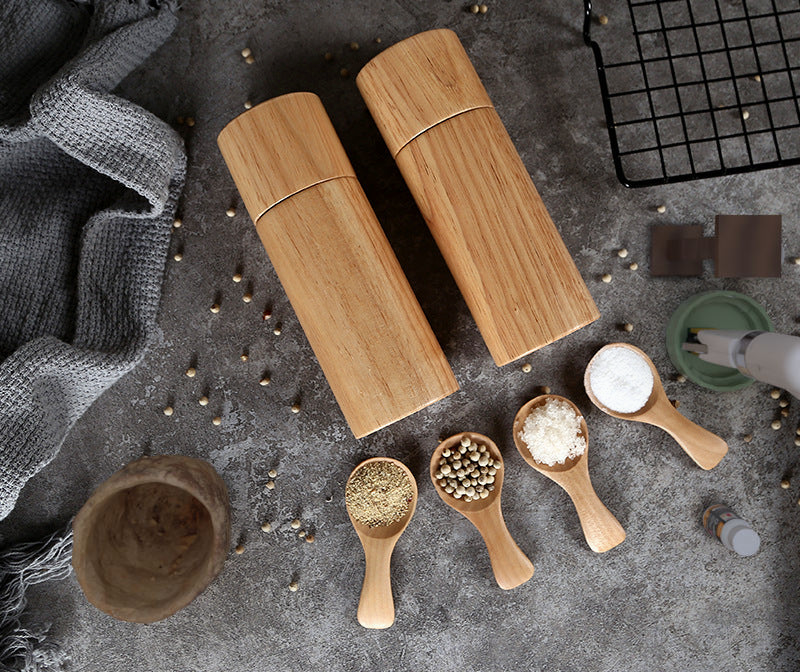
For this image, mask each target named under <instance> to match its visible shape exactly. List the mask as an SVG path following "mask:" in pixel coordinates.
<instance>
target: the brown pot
mask: <svg viewBox="0 0 800 672" xmlns="http://www.w3.org/2000/svg"><path fill="white" fill-rule="evenodd" d="M71 521H72V522H71V528H72V544H73V545H72V551H71V567H72V569H73V570H74V573H75V575H76V579H77V581H78V584H79V586H80V588H81V590H82V592H83V594H84V596H85V598H86V599H87V601H88V603H89V604H90V605H91V606H93V607H94V608H96V609H97V610H99V611H100V612H102V613H105V614H106V615H108V616H110V617H111V618H113V619H115V620H118V621H123V622H127V623H134V624H141V625H142V624H143V625H144V624H152V623H156V622H161V621H164V620H166V619H168V618H171V617H172V616H173V615H175V614H176V613H178V612H180V611H181V610H182V609H184V608H186V607H188V606H189V605H191V604H192V603H193V602H194V601H195V600H196V599H197V598H198V597H200V596H202V594H203V593H204V592H205V591H206V589H207V588H208V587H209V586H210V585H211V584H212V583H214V582H215V581H216V580H217V579H218V578H219V577H220V575H221V573H222V572H223V571H224V569H225V563H226V561H227V559H228V555H229V552H230V549H231V548H230V547H231V542H232V508H231V504H230V494H229V490H228V486H227V485H226V483H225V482H224V480H223V478H222V477H221V475H220V474H219V473H218V471H217V470H216V469H215V467H214V466H213V465H211V463H209V462H208V461H206V460H203V459H200V458H197V457H192V456H188V455H183V454H173V453H172V454H163V453H162V454H158V455H157V454H156V455H150V456H145V457H140V458H136V459H132V460H130V461H129V462H127V463H126V464H125V465H124V466H122V467H121V468H119V469H118V470H117V471H116V472H114V473H113V474H112V475H110V477H108V478H107V479H106V480H104V481H103V482H102V483H100V484H99V485H98V486H97V487H96V488H95V489H94V490H93V492H92V493H91V495H90V496H89V498H88V499H87V500H86V502H85V503H84V504H83V506H81V508H80V509H79V511H78V512H77V513H76V514H75V516H74V517H73V518H72V520H71Z"/></svg>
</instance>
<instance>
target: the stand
mask: <svg viewBox="0 0 800 672" xmlns="http://www.w3.org/2000/svg"><path fill="white" fill-rule="evenodd" d="M782 231H783V215H782V214H715V215H714V235H709V236H704V226H703V225H696V224H695V225H694V224H693V225H691V224H690V225H687V224H685V225H684V224H683V225H682V224H679V225H677V224H675V225H672V224H669V225H668V224H667V225H666V224H665V225H663V224H661V225H659V224H657V225H656V224H654V225H650V257H649V258H650V259H649V260H650V263H649V265H650V266H649V267H650V270H649V271H650V272H649V275H650V276H703V271H704V270H703V269H704V267H703V266H704V265H703V264H704V262H703V261H714V278H719V279H720V278H721V279H722V278H724V279H725V278H731V279H732V278H737V279H739V278H744V279H746V278H749V279H751V278H753V279H756V278H759V279H760V278H762V279H766V278H767V279H768V278H769V279H770V278H771V279H774V278H775V279H776V278H777V279H781V278H782V265H781V254H782V247H783V243H782V241H783V239H782V237H783V235H782V234H783V232H782Z"/></svg>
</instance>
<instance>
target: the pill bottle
mask: <svg viewBox="0 0 800 672" xmlns="http://www.w3.org/2000/svg"><path fill="white" fill-rule="evenodd" d="M702 524H703V527H704V529H705V530H706V531H707V532H708V533H709V534H710V535H711V536H712V537H713V538H714V539H716V541H718V542H719V543H720V544H721V545H722V546H723V547H725V548H726V549H727V550H728V551H732V552H735V553H736V554H738V555H740V556H743V557H750V556H753V555H754V554H756V553H757V552H758V550H759V549H760V546H761V539H760V537H759V536H760V535H759V534H758V533H757V532H756V531H755V530H754V529H753V527H752V525H751V524H750V523H749V522H748V521H747V520H746V519H744V517H741V516H740V515H739V514H737V513H736V512H735V511H733V510H732V509H730V508H729V507H727V506H725V505H724V504H719V503H718V504H712V505H711V506H709V507H707V508H706V510H705V511H704V513H703V514H702Z"/></svg>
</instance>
